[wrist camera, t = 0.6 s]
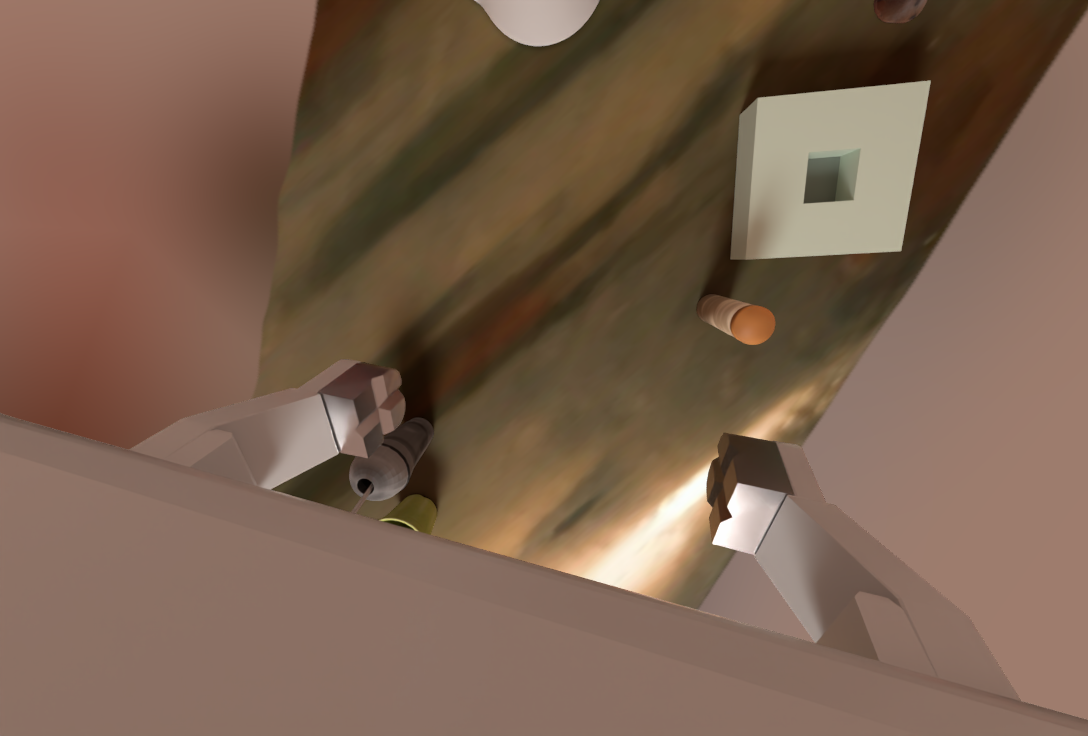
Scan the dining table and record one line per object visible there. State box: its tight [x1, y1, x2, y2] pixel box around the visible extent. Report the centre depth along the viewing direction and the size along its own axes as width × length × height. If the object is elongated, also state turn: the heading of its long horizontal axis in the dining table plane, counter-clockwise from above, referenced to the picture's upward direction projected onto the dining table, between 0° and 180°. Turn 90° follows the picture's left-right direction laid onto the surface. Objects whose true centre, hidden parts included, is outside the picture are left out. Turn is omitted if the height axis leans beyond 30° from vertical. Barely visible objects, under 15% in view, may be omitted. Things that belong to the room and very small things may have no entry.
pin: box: [697, 294, 775, 345], centre depth 44 cm, size 4×4×14 cm
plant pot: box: [379, 494, 437, 535], centre depth 60 cm, size 9×9×9 cm
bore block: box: [730, 81, 931, 260], centre depth 44 cm, size 16×16×5 cm
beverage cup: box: [349, 418, 434, 514], centre depth 51 cm, size 7×7×20 cm
